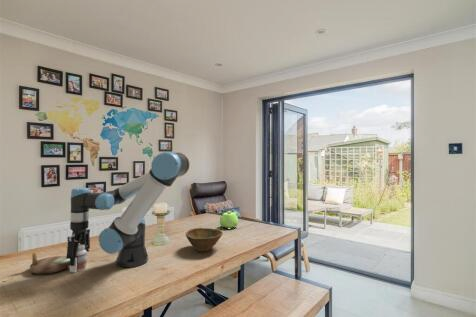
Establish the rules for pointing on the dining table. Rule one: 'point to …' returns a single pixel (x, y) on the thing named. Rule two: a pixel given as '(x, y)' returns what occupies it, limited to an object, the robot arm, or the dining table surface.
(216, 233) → the bowl
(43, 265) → the disc
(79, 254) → the pill bottle
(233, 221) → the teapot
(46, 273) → the susan base
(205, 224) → the dining table surface
